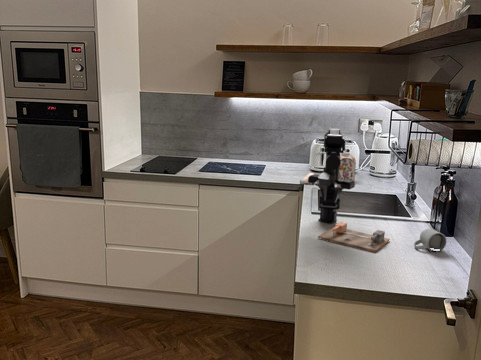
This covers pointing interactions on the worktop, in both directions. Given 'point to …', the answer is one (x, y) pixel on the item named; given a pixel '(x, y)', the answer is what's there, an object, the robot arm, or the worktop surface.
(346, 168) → the decorative jar
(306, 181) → the light bulb
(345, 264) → the worktop surface
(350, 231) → the board
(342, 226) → the block
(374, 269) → the worktop surface
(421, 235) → the ceramic mug
